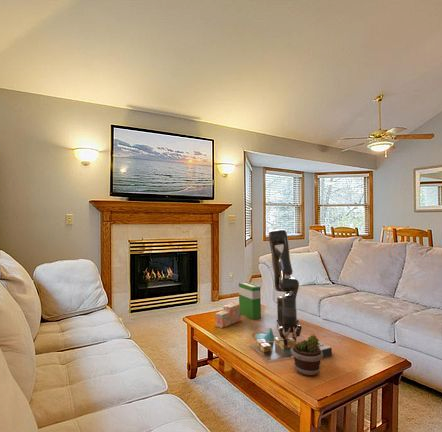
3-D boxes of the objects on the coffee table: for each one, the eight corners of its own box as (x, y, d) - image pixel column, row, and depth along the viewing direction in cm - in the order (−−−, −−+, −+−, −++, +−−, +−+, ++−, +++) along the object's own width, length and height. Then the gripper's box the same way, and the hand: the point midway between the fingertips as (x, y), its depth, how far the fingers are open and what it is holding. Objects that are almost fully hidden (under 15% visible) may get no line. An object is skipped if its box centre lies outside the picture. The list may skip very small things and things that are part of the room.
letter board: (284, 342, 183) (284, 335, 183) (304, 356, 164) (304, 349, 164) (251, 346, 178) (250, 339, 178) (267, 362, 158) (267, 354, 158)
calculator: (310, 338, 179) (331, 346, 165) (311, 345, 179) (332, 354, 165) (296, 341, 174) (317, 350, 161) (297, 349, 174) (317, 358, 161)
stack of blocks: (222, 328, 207) (222, 310, 207) (215, 326, 211) (215, 308, 211) (240, 320, 222) (240, 303, 222) (233, 318, 227) (233, 302, 227)
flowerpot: (285, 370, 149) (284, 330, 149) (302, 361, 159) (301, 323, 159) (312, 383, 138) (311, 339, 138) (329, 372, 147) (328, 331, 147)
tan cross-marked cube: (291, 343, 170) (291, 337, 170) (295, 346, 166) (295, 340, 166) (284, 344, 169) (284, 338, 169) (288, 347, 165) (288, 341, 165)
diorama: (263, 332, 201) (263, 319, 201) (284, 343, 183) (284, 329, 183) (248, 335, 196) (248, 322, 196) (268, 347, 178) (268, 332, 178)
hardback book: (239, 313, 239) (238, 282, 239) (247, 311, 242) (246, 281, 242) (252, 319, 223) (252, 287, 223) (260, 318, 226) (260, 286, 226)
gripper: (281, 317, 162) (282, 349, 162) (304, 315, 166) (305, 346, 166) (274, 313, 170) (275, 343, 170) (296, 310, 173) (297, 340, 173)
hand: (290, 344), depth 168 cm, fingers closed on tan cross-marked cube, 4 cm apart
